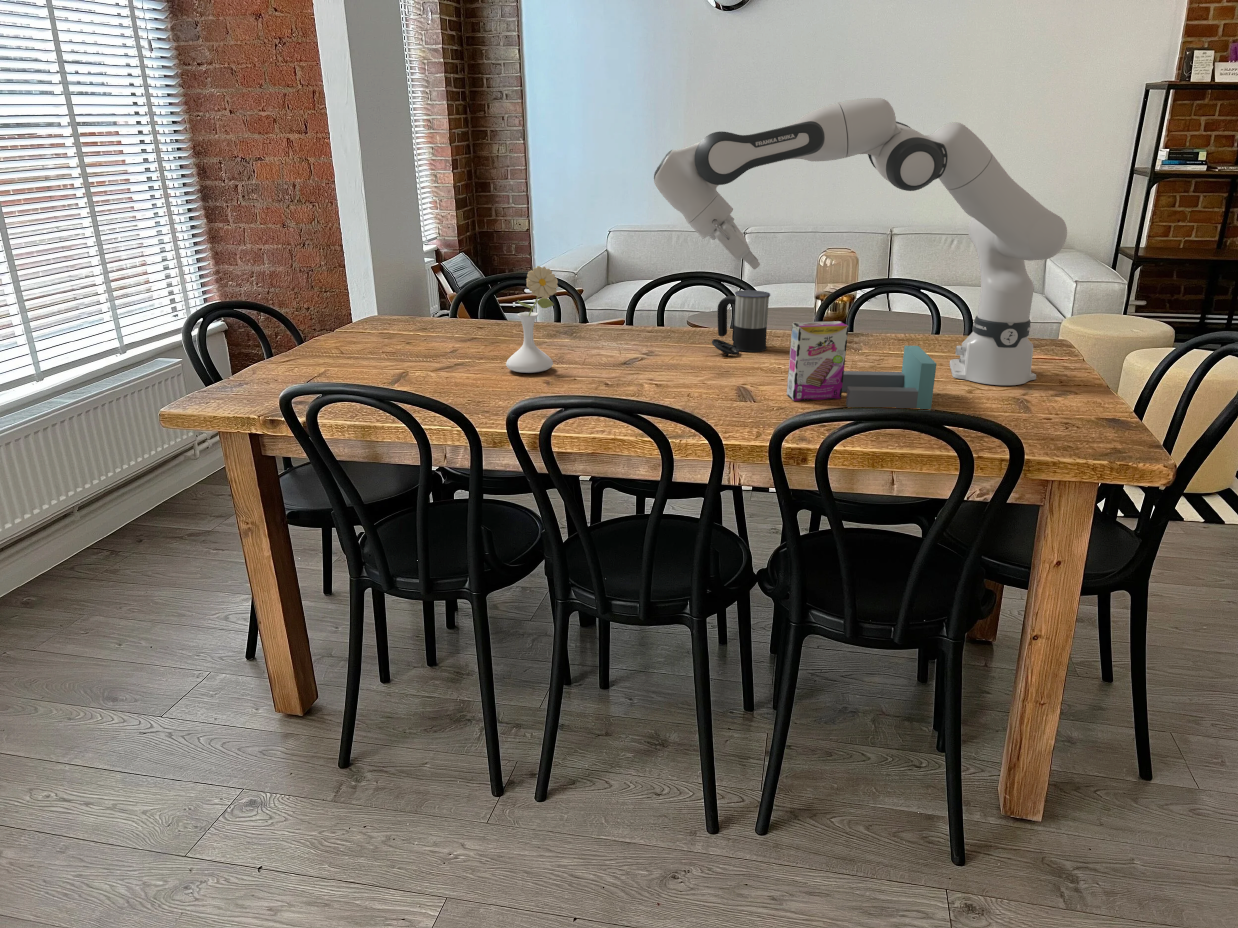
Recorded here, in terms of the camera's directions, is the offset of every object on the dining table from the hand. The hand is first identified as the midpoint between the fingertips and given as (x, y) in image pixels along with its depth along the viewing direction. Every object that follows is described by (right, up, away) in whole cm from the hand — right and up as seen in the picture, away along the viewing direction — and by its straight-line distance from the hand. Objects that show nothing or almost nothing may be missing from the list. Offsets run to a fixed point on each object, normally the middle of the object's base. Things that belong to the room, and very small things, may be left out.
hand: (756, 265), depth 198 cm
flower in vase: (-51, -20, +24) cm, 60 cm away
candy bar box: (+13, -29, +2) cm, 31 cm away
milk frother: (+2, -13, +43) cm, 45 cm away
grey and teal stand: (+27, -29, +1) cm, 39 cm away
